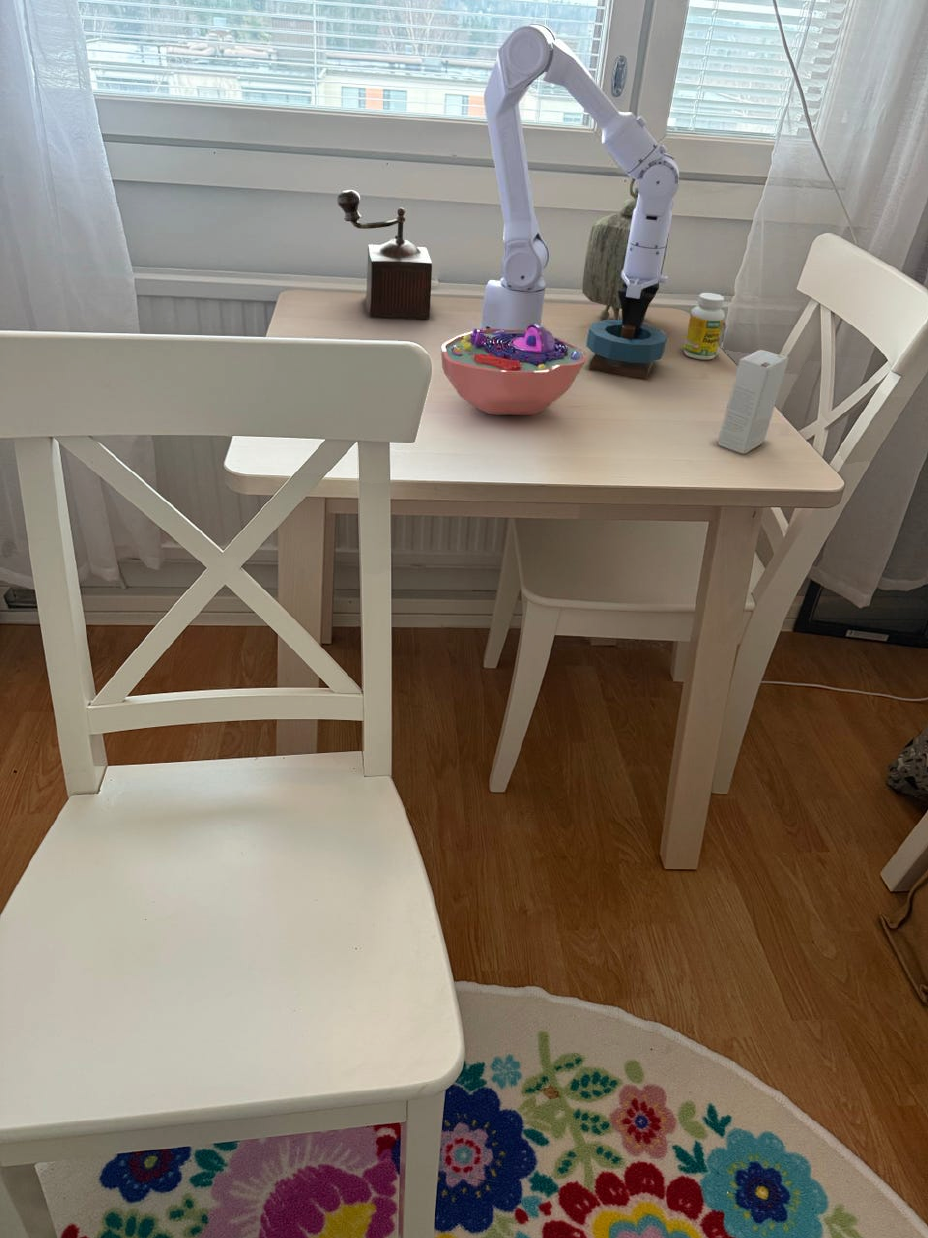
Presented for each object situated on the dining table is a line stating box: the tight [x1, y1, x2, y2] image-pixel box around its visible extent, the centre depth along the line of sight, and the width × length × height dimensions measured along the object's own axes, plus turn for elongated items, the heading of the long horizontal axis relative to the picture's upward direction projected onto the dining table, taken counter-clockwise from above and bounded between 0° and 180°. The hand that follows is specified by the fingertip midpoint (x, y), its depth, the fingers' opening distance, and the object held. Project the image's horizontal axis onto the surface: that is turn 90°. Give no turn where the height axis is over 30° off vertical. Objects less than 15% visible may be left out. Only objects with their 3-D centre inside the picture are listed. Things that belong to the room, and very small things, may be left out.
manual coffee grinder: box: [336, 189, 433, 320], centre depth 162 cm, size 16×11×18 cm
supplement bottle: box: [683, 292, 726, 361], centre depth 158 cm, size 5×5×10 cm
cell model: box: [440, 324, 588, 416], centre depth 131 cm, size 17×20×11 cm
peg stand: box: [588, 325, 655, 380], centre depth 151 cm, size 9×9×6 cm
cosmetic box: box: [717, 349, 789, 455], centre depth 127 cm, size 6×4×12 cm
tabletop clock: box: [581, 178, 670, 321], centre depth 165 cm, size 14×9×25 cm, turn 148°
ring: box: [586, 319, 668, 363], centre depth 151 cm, size 12×12×3 cm
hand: (630, 332), depth 154 cm, fingers closed on ring, 2 cm apart
